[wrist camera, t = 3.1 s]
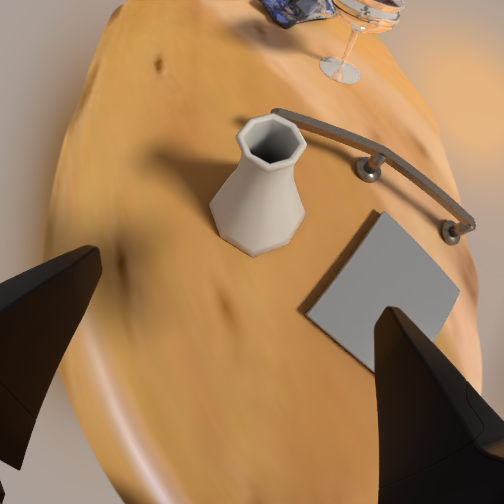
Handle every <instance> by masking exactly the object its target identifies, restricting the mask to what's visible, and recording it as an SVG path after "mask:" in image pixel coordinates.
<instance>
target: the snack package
mask: <svg viewBox="0 0 504 504" xmlns="http://www.w3.org/2000/svg"><path fill="white" fill-rule="evenodd" d="M259 1H260V2H262V3H263V4H264V5H265V6H266V8H267V9H268V11H269V13H270V15H271V17H272V18H273V17H275V19H274V18H273V21H275V22H276V23H278V24H280V25H281V26H282V27H284V28H285V29H287V28H291V27H292V26H294V25H295V24H298V23H299V22H300V23H301V22H305V21H309V20H313V19H322V18H328V17H323V16H319V17H317V16H318V15H321V14H322V13H325V14H331V15H333V17H335V16H337V13H336V12H335V11H334V9H333V6H332V2H331V0H259ZM294 12H295V14H294ZM334 12H335V13H336V14H333V13H334ZM333 17H330V18H333Z"/></svg>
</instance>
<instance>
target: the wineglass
mask: <svg viewBox="0 0 504 504" xmlns="http://www.w3.org/2000/svg"><path fill="white" fill-rule="evenodd" d="M331 2H332V6H333V9H334V11H335V12H336V13H337V15H338V16H339V17H340V19H341V20H342V21H343V22H344V23H346V24H347V25H349V26H350V28H351V30H352V32H351V35H350V38H349V41H348V44H347V47H346V50H345V53H344V56H343V59H341V58H338V57H326V58H323V59H322V60H321V61H320V68H321V70H322V71H323V72H324V73H325V74H326V75H327V76H328V77H330V78H332V79H333V80H336V81H338V82H341V83H346V84H352V83H356V82H358V81H359V79H360V73H359V71H358V69H357V68H356V67H355V66H354V65H353V64H352V63H350V62H348V61H346V60H347V58H348V55H349V53H350V51H351V49H352V47H353V45H354V43H355V41H356V39H357V37H358V35H359V33H363V32H365V33H371V34H374V33H380V32H387V31H389V30H390V29H392V28H393V27H394V26H395V25H396V24H397V23H398V22H399V19H400V14H399V10H401V9H403V8H404V7H405V3H404V2H403V0H331Z"/></svg>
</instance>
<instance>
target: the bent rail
mask: <svg viewBox="0 0 504 504" xmlns="http://www.w3.org/2000/svg"><path fill="white" fill-rule="evenodd" d="M271 113H275V114H277V115H279V116H281V117H283V118H285V119H287V120H289V121H290V122H292V123H294V124H296V126H297V127H298V128H300V129H303V130H306V131H309V132H312V133H315V134H318V135H321V136H324V137H327V138H330V139H332V140H335V141H338V142H340V143H343V144H346V145H348V146H351V147H353V148H356V149H358V150H361V151H363V152H366V153H368V154H371V156H370V158H369V157H362V158H360V159H359V161H358V162H357V163H356V166H355V170H356V173H357V175H358V176H359V177H360V178H361V179H362V180H363V181H365V182H368V183H372V182H375V181H376V180H377V179H378V178H379V177H380V175H381V169H380V166H381V165H382V164H383V163H384V162H386V163H387V164H389V165H390V166H391V167H393V168H394V169H396V170H397V171H398V172H400V173H401V174H402V175H404V176H405V177H406V178H408V179H409V180H410V181H412V182H413V183H414V184H416V185H417V186H418V187H420V188H421V189H422V190H423V191H425V192H426V193H427V194H428V195H430V196H431V197H432V198H433V199H434V200H436V201H437V202H438V203H439V204H440V205H442V206H443V207H444V208H445V209H446V210H447V211H449V212H450V213H451V214H452V215H453V216H454V217H455V218H456V219H458V220H459V221H460V222H459V223H457V224H456V223H455V222H453V221H447V222H445V223H443V225H442V227H441V234H442V237H443V239H444V241H445V242H446V243H447V244H448V245H455V244H457V243H458V242H459V240H460V236H461V235H463V234H466V233H468V232H470V231H473V230H475V227H476V224H475V221H474V219H473V217H472V216H470V215H469V214H468V213H467V212H466V211H465V210H464V209H463V208H462V207H461V206H460V205H459V204H458V203H456V202H455V201H454V200H453V199H452V198H451V197H450V196H449V195H447V194H446V193H445V192H444V191H443V190H442V189H440V188H439V187H438V186H437V185H436V184H434V183H433V182H432V181H431V180H430V179H428V178H427V177H426V176H425V175H423V174H422V173H421V172H419V171H418V170H417V169H416V168H414V167H413V166H412V165H410V164H409V163H408V162H406V161H405V160H404V159H402V158H401V157H399V156H398V155H397V154H395V153H394V152H392V151H391V150H390V149H388V148H387V147H386V148H385V146H383V145H380V144H378V143H376V142H374V141H371V140H369V139H366V138H364V137H362V136H359V135H357V134H354V133H352V132H349V131H347V130H344V129H341V128H339V127H336V126H333V125H330V124H328V123H325V122H322V121H319V120H316V119H313V118H310V117H307V116H304V115H301V114H298V113H294V112H291V111H288V110H284V109H281V108H280V109H279V108H276V109H273V110H272V111H271ZM271 113H270V114H271Z"/></svg>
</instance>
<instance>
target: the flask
mask: <svg viewBox="0 0 504 504" xmlns="http://www.w3.org/2000/svg"><path fill="white" fill-rule="evenodd" d="M236 140H237V142H238V145H239V147H240V149H241V151H242V153H241V159H240V161H239V164H238V166H237V169H236V170H235V171H234V172H233V173H232V174H231V175H230V176H229V177H228V179H227V180H226V181H225V183H224V184H223V185H222V187H221V188H220V189H219V191H218V192H217V193H216V195H215V196H214V198H213V199H212V200H211V202H210V203H209V207H210V210H211V212H212V215H213V218H214V221H215V223H216V226H217V229H218V231H219V234H220V237H221V238H222V239H224V240H226V241H227V242H229V243H230V244H232V245H234V246H235V247H237V248H238V249H240V250H242V251H243V252H245V253H247V254H248V255H250V256H251V257H256V256H258V255H261V254H264V253H266V252H269V251H272V250H274V249H277V248H280V247H282V246H285V245H288V244H289V242H290V240H291V239H292V237H293V235H294V234H295V232H296V230H297V229H298V227H299V225H300V224H301V222H302V220H303V219H304V217H305V215H306V214H305V211H304V208H303V205H302V203H301V200H300V198H299V195H298V192H297V188H296V185H295V182H294V179H293V165H294V164H295V163H296V161H297V160H298V158H299V157H300V155H301V154H302V152H303V151H304V149H305V148H306V146H307V143H306V141H305V140H304V138H303V136H302V134H301V133H300V131H299V129H298V127H297V126H296V124H294V123H292V122H290V121H289V120H287V119H285V118H283V117H281V116H279V115H277V114H275V113H271V114H267V115H263V116H259V117H255V118H251V119H249V121H248V122H247V123H246V124H245V125H244V126H243V128H242V129H241V130H240V131H239V132H238V134H237V135H236Z"/></svg>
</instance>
